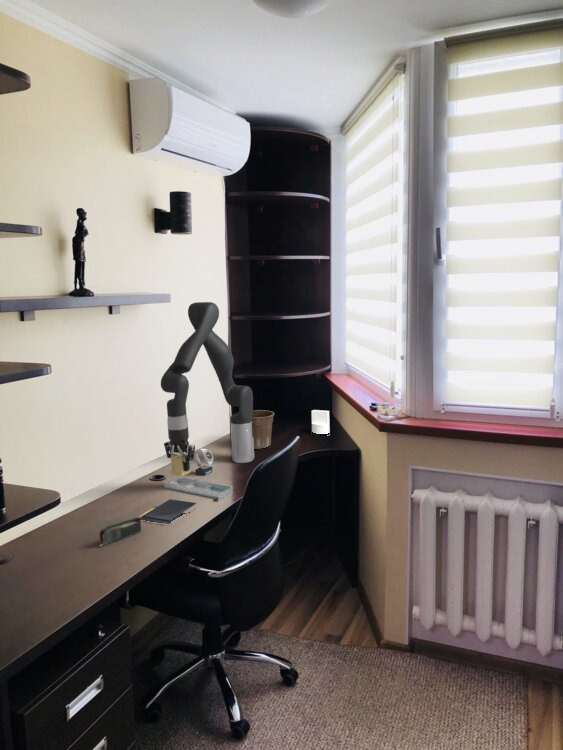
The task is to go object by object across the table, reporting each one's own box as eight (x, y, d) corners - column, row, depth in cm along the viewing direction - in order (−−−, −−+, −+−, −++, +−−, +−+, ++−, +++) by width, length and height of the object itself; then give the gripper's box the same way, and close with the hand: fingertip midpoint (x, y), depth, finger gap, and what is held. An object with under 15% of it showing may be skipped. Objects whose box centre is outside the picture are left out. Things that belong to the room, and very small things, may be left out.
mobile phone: (136, 515, 184) (94, 529, 173) (142, 517, 182) (99, 532, 171) (137, 530, 184) (95, 545, 173) (143, 532, 182) (100, 548, 171)
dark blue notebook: (169, 523, 185) (131, 516, 192) (169, 528, 186) (132, 521, 192) (203, 501, 203) (168, 495, 210) (204, 506, 203) (169, 500, 210)
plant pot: (281, 443, 278) (280, 411, 276) (265, 452, 264) (263, 418, 262) (252, 440, 286) (250, 408, 283) (234, 449, 272) (233, 415, 269)
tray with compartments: (179, 483, 227) (178, 475, 226) (232, 493, 213) (232, 485, 213) (164, 489, 220) (163, 482, 219) (218, 501, 206) (217, 493, 206)
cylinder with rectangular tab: (309, 435, 292) (308, 412, 290) (315, 431, 300) (314, 408, 298) (326, 436, 288) (325, 413, 286) (332, 432, 296) (331, 409, 295)
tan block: (181, 470, 223) (179, 453, 222) (190, 472, 221) (189, 454, 220) (172, 474, 219) (170, 456, 218) (182, 476, 217) (180, 458, 215)
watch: (208, 478, 231) (207, 452, 229) (192, 476, 235) (190, 450, 233) (216, 474, 236) (215, 448, 234) (200, 472, 239) (199, 446, 238)
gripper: (199, 426, 216) (202, 469, 219) (170, 422, 224) (173, 464, 227) (185, 430, 210) (189, 475, 213) (156, 427, 218) (160, 470, 220)
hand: (181, 469), depth 220 cm, fingers closed on tan block, 5 cm apart
